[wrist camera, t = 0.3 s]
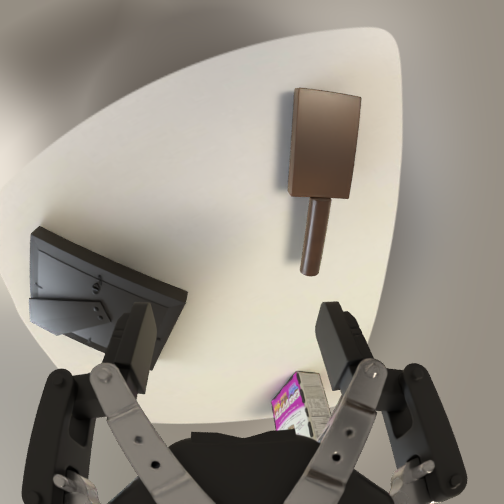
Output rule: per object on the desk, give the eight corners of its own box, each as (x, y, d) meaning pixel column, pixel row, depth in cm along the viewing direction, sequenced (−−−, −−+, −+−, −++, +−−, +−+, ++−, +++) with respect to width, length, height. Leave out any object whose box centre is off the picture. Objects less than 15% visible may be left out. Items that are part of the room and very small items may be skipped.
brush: (290, 88, 22) (301, 87, 18) (347, 96, 22) (366, 97, 19) (278, 255, 31) (284, 277, 27) (326, 255, 31) (337, 275, 28)
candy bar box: (293, 402, 49) (307, 475, 35) (270, 401, 48) (280, 478, 34) (321, 371, 44) (344, 456, 30) (296, 369, 43) (315, 460, 29)
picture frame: (37, 309, 33) (154, 360, 39) (30, 321, 30) (151, 374, 37) (39, 225, 26) (187, 291, 32) (27, 236, 24) (185, 307, 30)
